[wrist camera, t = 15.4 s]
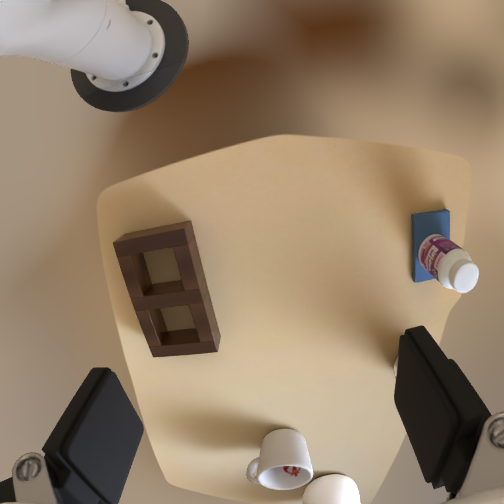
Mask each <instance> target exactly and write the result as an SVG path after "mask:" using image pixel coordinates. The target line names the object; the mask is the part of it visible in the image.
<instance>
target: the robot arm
mask: <svg viewBox="0 0 504 504" xmlns="http://www.w3.org/2000/svg"><path fill="white" fill-rule="evenodd" d="M125 1H126V0H0V56H22V57H29V58H34V59H38V60H42V61H46V62H49V63H53V64H57V65H60V66H64V67H67V68H71V69H74V70H78V71H81V72H84V73H86V75H87V78H88V79H89V80H90V82H91V83H92V84H94V85H95V86H96V87H98V88H100V89H102V90H106V91H111V92H121V91H126V90H129V89H132V88H134V87H136V86H138V85H140V84H141V83H143V82H144V81H145V80H147V79H148V78H149V77H150V76H151V75H152V74H153V72H154V71H155V70H156V68H157V67H158V65H159V63H160V62H161V60H162V57H163V54H164V50H165V35H164V32H163V29H162V27H161V26H160V24H159V23H158V22H157V21H156V20H155V19H154V18H153V17H152V16H150V15H148V14H146V13H143V12H139V11H130V10H129V6H128V5H126V2H125ZM151 23H152V24H151ZM157 55H158V57H157V58H155V57H156V56H157ZM127 83H129V84H128V86H127ZM394 400H395V405H396V407H397V410H398V412H399V415H400V417H401V419H402V422H403V424H404V427H405V429H406V432H407V434H408V437H409V439H410V442H411V444H412V447H413V450H414V452H415V455H416V457H417V460H418V463H419V465H420V468H421V470H422V473H423V476H424V479H425V481H426V482H427V483H430V482H431V483H432V485H433V488H434V489H436V488H439V487H442V486H445V488H446V491H447V492H449V495H448V497H447V499H446V501H445V502H443V503H440V504H504V412H499V413H496V414H494V415H491V413H490V412H489V410H488V409H487V407H486V406H485V404H484V403H483V401H482V400H481V398H480V397H479V395H478V394H477V392H476V391H475V389H474V388H473V386H472V385H471V383H470V382H469V381H468V379H467V378H466V376H465V375H464V373H463V372H462V371H461V369H460V368H459V366H458V365H457V364H456V363H455V361H454V360H452V359H448V358H447V357H446V356H445V354H444V353H443V351H442V350H441V349H440V347H439V346H438V344H437V343H436V342H435V340H434V339H433V338H432V336H431V335H430V334H429V332H428V331H427V330H426V328H425V327H424V326H418V327H414V328H410V329H406V330H405V333H404V335H401V336H400V340H399V353H398V365H397V375H396V384H395V393H394ZM143 431H144V429H143V424H142V422H141V420H140V418H139V416H138V415H137V413H136V411H135V409H134V408H133V406H132V404H131V402H130V400H129V399H128V397H127V395H126V393H125V391H124V389H123V387H122V385H121V383H120V381H119V379H118V378H117V375H116V374H115V373H114V372H112V371H111V369H109V368H93V369H92V370H91V371H90V372H89V374H88V376H87V377H86V379H85V380H84V382H83V383H82V385H81V386H80V388H79V389H78V391H77V392H76V394H75V396H74V397H73V399H72V400H71V402H70V404H69V405H68V407H67V408H66V410H65V412H64V413H63V415H62V416H61V418H60V420H59V421H58V423H57V425H56V426H55V428H54V430H53V431H52V433H51V435H50V436H49V438H48V440H47V441H46V443H45V445H44V446H43V448H42V450H43V452H44V453H45V456H44V457H43V456H41V455H40V454H38V453H33V452H31V453H27V454H25V455H23V456H21V457H20V458H19V459H18V460H17V461H16V462H15V464H14V466H13V469H12V477H11V478H9V479H6V480H4V481H2V482H0V504H118V503H119V500H120V497H121V494H122V491H123V488H124V485H125V483H126V480H127V477H128V474H129V471H130V468H131V465H132V462H133V460H134V457H135V454H136V451H137V448H138V446H139V443H140V440H141V437H142V435H143Z"/></svg>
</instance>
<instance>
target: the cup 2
mask: <svg viewBox="0 0 504 504" xmlns="http://www.w3.org/2000/svg"><path fill="white" fill-rule="evenodd" d="M303 504H360V496H359V492H358V488H357V485H356V484H355V482H354V481H353V480H352V479H351V478H349V477H347V476H344V475H339V474H332V475H326V476H322V477H319V478H317V479H315V480H314V481H313V482H311V483H310V484H309V485H308V486H307V487H306V490H305V492H304V495H303Z"/></svg>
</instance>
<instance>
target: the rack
mask: <svg viewBox="0 0 504 504" xmlns="http://www.w3.org/2000/svg"><path fill="white" fill-rule="evenodd" d="M113 245H114V248H115V252H116V255H117V258H118V261H119V265H120V268H121V271H122V274H123V277H124V280H125V283H126V286H127V289H128V292H129V295H130V298H131V301H132V304H133V306H134V309H135V312H136V314H137V317H138V320H139V323H140V325H141V328H142V330H143V333H144V336H145V338H146V341H147V343H148V346H149V348H150V351H151V353H152V356H153V357H166V356H179V355H191V354H202V353H212V352H218V348H219V343H220V338H221V335H220V332H219V328H218V324H217V321H216V317H215V313H214V309H213V306H212V302H211V298H210V294H209V291H208V287H207V283H206V279H205V275H204V271H203V267H202V263H201V259H200V255H199V251H198V247H197V243H196V239H195V235H194V231H193V226H192V222H191V221H186V222H181V223H176V224H171V225H166V226H161V227H156V228H151V229H146V230H142V231H137V232H132V233H127V234H124V235H123V236H121V237H120V238H119V239H117V240H116V241H115V242H113ZM169 247H173V249H174V253H175V256H176V260H177V264H178V267H179V271H180V275H181V278H182V280H179V281H172V282H165V283H159V284H152V283H151V280H150V276H149V273H148V270H147V266H146V263H145V260H144V256H143V253H142V252H147V251H152V250H158V249H163V248H169ZM181 305H189V306H190V310H191V313H192V316H193V319H194V323H195V326H196V328H194V329H185V330H175V331H167V328H166V325H165V322H164V319H163V316H162V313H161V311H160V308H165V307H173V306H181Z"/></svg>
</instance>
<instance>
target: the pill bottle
mask: <svg viewBox="0 0 504 504" xmlns="http://www.w3.org/2000/svg"><path fill="white" fill-rule="evenodd" d="M418 257H419V261H420V264H421V265H422V266H423V267H424V268H425V269H426V270H427V271H428V272H429V273H430V274H431V275H432V276H433V277H434V278H435V279H437V280H438V281H439V282H440V283H441V284H442V285H443V286H444V287H446V288H449V289H455V290H456V291H457V292H459V293H466V292H468V291H470V290H471V289H472V288H473V287H474V286H475V284H476V282H477V280H478V276H479V270H478V267H477V266H476V265H475V264H474V263H473V262H472V260H471V257H470V255H469V254H468V253H467V252H466V251H465V250H464V249H462V248H461V247H459V246H458V245H456V244H455V243H453V242H452V241H450V240H449V239H447V238H445V237H444V236H442V235H439V234H434V235H430V236H428V237H427V238H426V239H425V240H424V241H423V242H422V244H421V246H420V249H419V253H418Z"/></svg>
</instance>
